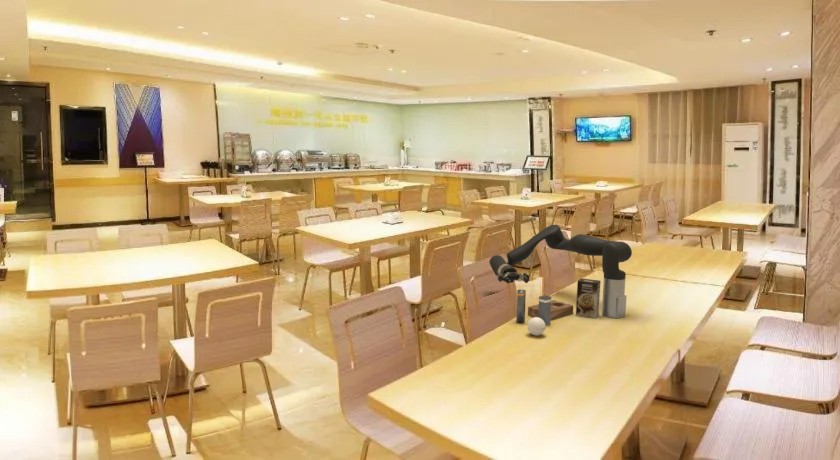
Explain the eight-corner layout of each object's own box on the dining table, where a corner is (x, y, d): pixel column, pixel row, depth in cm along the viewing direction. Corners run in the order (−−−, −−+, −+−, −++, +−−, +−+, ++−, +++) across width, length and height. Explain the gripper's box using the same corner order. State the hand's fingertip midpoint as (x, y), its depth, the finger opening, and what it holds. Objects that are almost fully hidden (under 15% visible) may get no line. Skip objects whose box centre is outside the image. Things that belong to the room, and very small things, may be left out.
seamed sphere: (531, 338, 237) (532, 321, 236) (523, 333, 244) (524, 315, 243) (554, 336, 240) (555, 319, 239) (546, 331, 247) (546, 313, 246)
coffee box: (575, 315, 268) (576, 280, 266) (578, 312, 274) (580, 277, 272) (596, 318, 264) (597, 283, 262) (599, 315, 270) (600, 279, 267)
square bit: (550, 324, 256) (551, 296, 254) (544, 325, 254) (545, 298, 252) (543, 322, 259) (544, 295, 257) (538, 323, 257) (538, 296, 255)
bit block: (572, 313, 271) (573, 305, 271) (547, 321, 260) (547, 312, 259) (553, 308, 280) (553, 300, 279) (527, 315, 268) (528, 306, 268)
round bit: (526, 322, 259) (527, 290, 256) (520, 324, 256) (521, 292, 254) (520, 320, 261) (521, 289, 259) (514, 322, 259) (515, 290, 257)
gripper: (521, 280, 287) (532, 288, 272) (492, 280, 285) (502, 289, 270) (522, 265, 286) (533, 272, 270) (493, 265, 284) (502, 273, 268)
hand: (517, 281), depth 270 cm, fingers open, 8 cm apart
